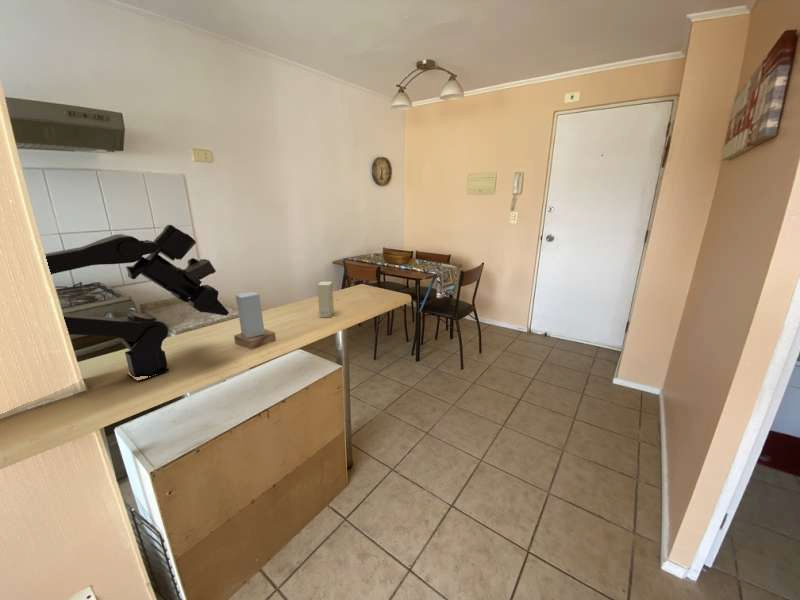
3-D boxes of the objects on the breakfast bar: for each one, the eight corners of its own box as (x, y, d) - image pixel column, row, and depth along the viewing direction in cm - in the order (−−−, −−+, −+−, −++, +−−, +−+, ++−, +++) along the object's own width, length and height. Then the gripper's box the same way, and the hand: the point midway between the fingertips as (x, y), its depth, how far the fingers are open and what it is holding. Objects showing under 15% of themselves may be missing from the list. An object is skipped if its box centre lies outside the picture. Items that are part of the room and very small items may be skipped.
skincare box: (331, 317, 120) (329, 285, 117) (318, 317, 120) (316, 285, 117) (334, 312, 126) (332, 281, 123) (322, 312, 126) (320, 281, 123)
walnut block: (252, 351, 94) (250, 341, 93) (235, 344, 98) (234, 335, 97) (275, 341, 100) (274, 332, 99) (259, 336, 104) (258, 327, 103)
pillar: (246, 338, 94) (240, 297, 91) (241, 334, 98) (235, 294, 95) (264, 334, 97) (259, 294, 94) (259, 329, 101) (253, 291, 98)
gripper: (203, 253, 76) (255, 292, 87) (178, 246, 88) (226, 281, 99) (168, 292, 72) (227, 328, 83) (147, 279, 84) (200, 312, 95)
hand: (220, 310), depth 90 cm, fingers open, 9 cm apart
